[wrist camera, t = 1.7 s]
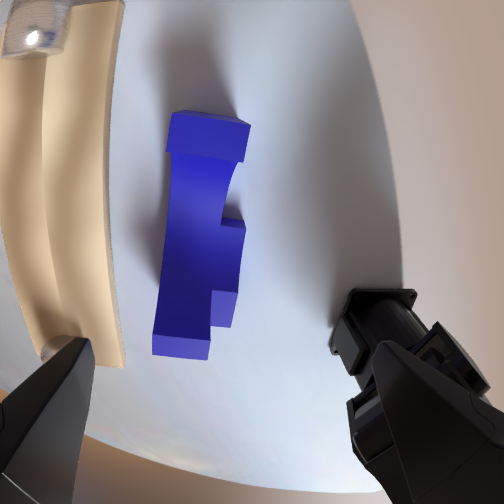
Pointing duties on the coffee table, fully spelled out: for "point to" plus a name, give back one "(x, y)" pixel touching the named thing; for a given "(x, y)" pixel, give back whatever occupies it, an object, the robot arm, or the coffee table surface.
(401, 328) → the robot arm
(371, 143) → the coffee table surface
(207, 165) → the cable clip
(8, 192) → the light wooden board
